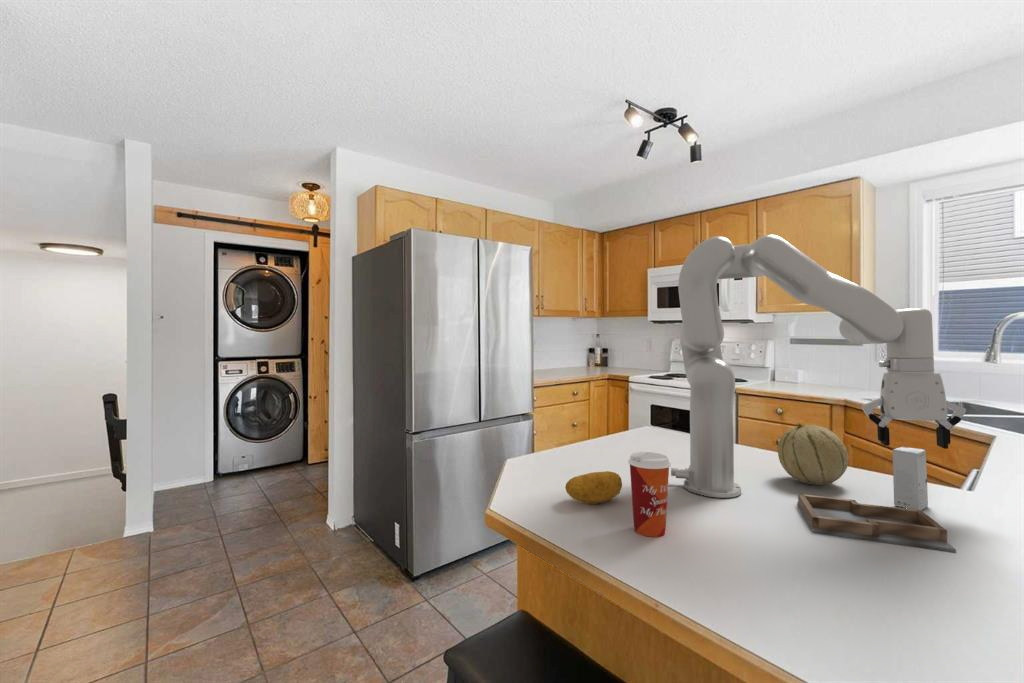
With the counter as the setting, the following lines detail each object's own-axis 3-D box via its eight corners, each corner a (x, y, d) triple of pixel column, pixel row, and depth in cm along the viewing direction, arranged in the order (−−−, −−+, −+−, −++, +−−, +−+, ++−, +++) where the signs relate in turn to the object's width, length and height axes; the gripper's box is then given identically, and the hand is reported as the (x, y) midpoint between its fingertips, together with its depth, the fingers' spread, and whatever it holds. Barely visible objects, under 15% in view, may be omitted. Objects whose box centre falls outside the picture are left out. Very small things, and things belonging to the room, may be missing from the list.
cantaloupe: (865, 491, 105) (864, 427, 105) (810, 494, 102) (809, 429, 102) (813, 473, 119) (812, 417, 119) (764, 476, 117) (763, 419, 117)
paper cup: (649, 543, 78) (648, 463, 78) (619, 527, 85) (619, 454, 85) (681, 534, 82) (680, 458, 82) (650, 519, 88) (649, 449, 88)
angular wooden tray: (813, 532, 82) (813, 518, 82) (797, 503, 97) (797, 492, 97) (956, 552, 74) (955, 537, 74) (914, 517, 89) (914, 505, 89)
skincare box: (919, 512, 92) (919, 453, 92) (892, 505, 95) (891, 449, 95) (929, 506, 95) (928, 449, 95) (902, 500, 99) (901, 445, 99)
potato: (631, 504, 97) (631, 473, 97) (575, 512, 92) (575, 479, 92) (611, 492, 104) (611, 464, 104) (559, 500, 100) (558, 469, 100)
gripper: (866, 367, 95) (869, 447, 95) (973, 366, 88) (976, 452, 88) (855, 365, 102) (858, 440, 102) (953, 365, 95) (957, 444, 95)
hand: (913, 445), depth 95 cm, fingers open, 9 cm apart
